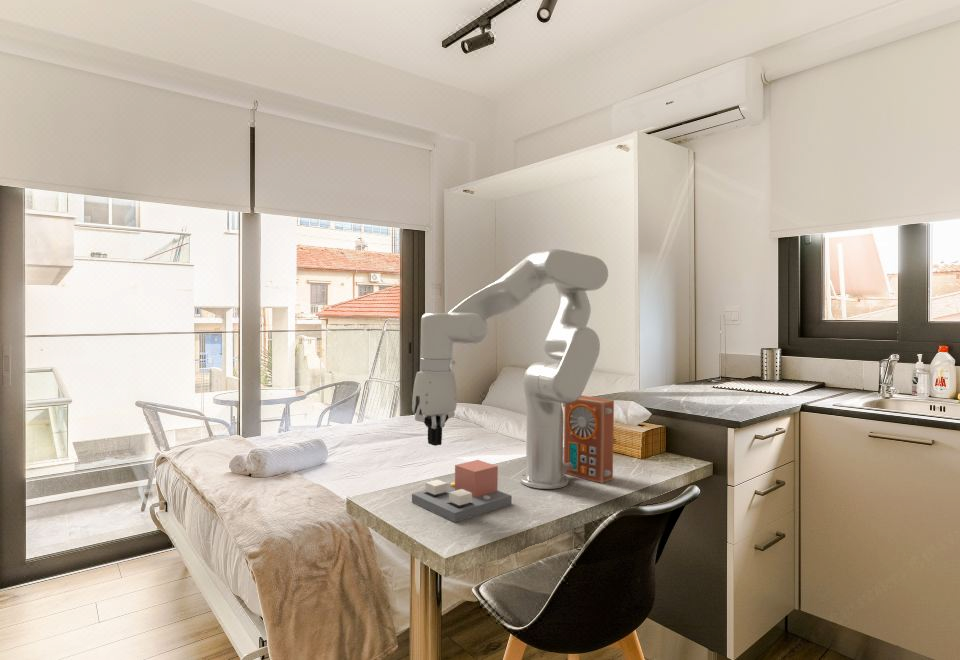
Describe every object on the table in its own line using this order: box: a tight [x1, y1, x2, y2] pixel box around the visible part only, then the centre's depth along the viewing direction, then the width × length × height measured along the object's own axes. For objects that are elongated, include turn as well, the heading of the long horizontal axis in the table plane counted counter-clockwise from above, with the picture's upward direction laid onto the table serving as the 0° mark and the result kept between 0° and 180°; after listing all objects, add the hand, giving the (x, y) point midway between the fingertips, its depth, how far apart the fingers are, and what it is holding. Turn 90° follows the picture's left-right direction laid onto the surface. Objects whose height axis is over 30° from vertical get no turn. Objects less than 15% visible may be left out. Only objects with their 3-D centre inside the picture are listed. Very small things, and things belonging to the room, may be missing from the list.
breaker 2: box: [449, 489, 472, 506], centre depth 121 cm, size 4×4×2 cm
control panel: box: [562, 394, 615, 484], centre depth 148 cm, size 21×7×15 cm
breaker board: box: [411, 482, 513, 523], centre depth 127 cm, size 17×16×3 cm
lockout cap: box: [454, 459, 499, 498], centre depth 130 cm, size 7×7×6 cm
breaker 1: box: [425, 479, 448, 495], centre depth 128 cm, size 4×4×2 cm
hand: (434, 444), depth 127 cm, fingers closed
